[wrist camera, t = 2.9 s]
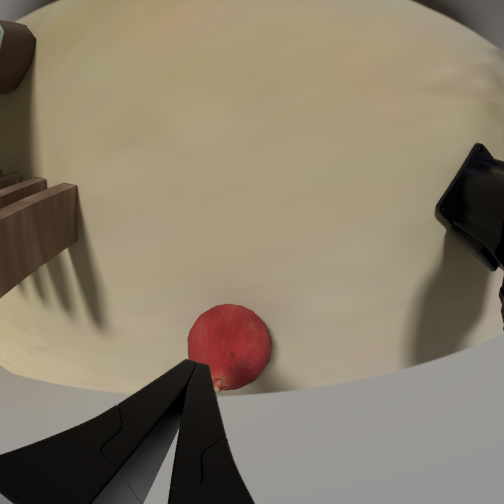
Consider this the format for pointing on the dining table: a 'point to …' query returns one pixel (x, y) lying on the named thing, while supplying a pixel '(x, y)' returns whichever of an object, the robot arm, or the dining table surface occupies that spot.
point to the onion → (230, 345)
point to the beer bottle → (14, 54)
